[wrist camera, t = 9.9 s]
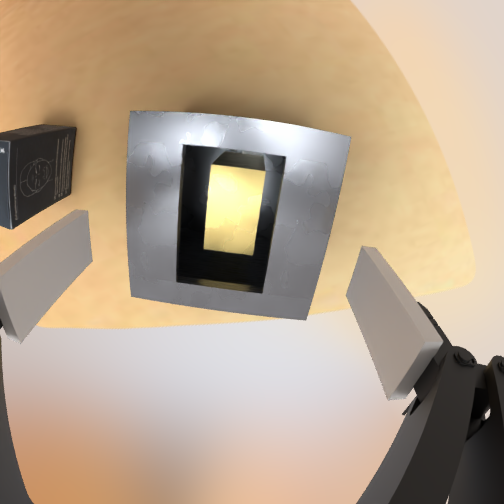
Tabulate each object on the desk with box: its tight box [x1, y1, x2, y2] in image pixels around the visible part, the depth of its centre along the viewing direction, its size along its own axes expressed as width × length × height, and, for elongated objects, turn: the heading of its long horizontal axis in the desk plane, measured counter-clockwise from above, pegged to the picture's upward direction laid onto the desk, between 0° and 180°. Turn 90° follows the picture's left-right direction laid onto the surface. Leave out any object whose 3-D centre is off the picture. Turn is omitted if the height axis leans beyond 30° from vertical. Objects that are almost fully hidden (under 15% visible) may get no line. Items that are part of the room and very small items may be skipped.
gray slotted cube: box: [126, 111, 351, 320], centre depth 22 cm, size 12×12×12 cm
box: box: [0, 125, 76, 229], centre depth 21 cm, size 8×6×11 cm
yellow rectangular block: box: [204, 151, 266, 255], centre depth 23 cm, size 6×4×8 cm, turn 172°
